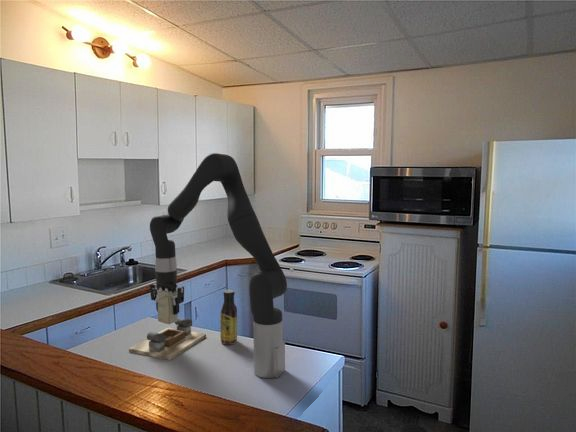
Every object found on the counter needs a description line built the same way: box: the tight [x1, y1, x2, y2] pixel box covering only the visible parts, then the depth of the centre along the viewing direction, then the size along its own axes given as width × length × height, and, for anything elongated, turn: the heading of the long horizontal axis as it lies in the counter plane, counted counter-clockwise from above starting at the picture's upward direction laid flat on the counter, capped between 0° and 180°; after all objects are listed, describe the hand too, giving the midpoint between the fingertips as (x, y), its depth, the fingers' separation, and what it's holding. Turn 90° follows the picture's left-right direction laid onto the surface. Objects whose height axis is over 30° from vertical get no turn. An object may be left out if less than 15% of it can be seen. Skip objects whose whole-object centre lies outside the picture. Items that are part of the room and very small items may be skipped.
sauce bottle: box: [219, 289, 238, 346], centre depth 168 cm, size 6×6×20 cm
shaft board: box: [128, 317, 207, 361], centre depth 167 cm, size 18×22×7 cm
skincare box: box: [157, 289, 178, 325], centre depth 166 cm, size 6×4×12 cm
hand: (167, 312), depth 166 cm, fingers closed on skincare box, 6 cm apart
